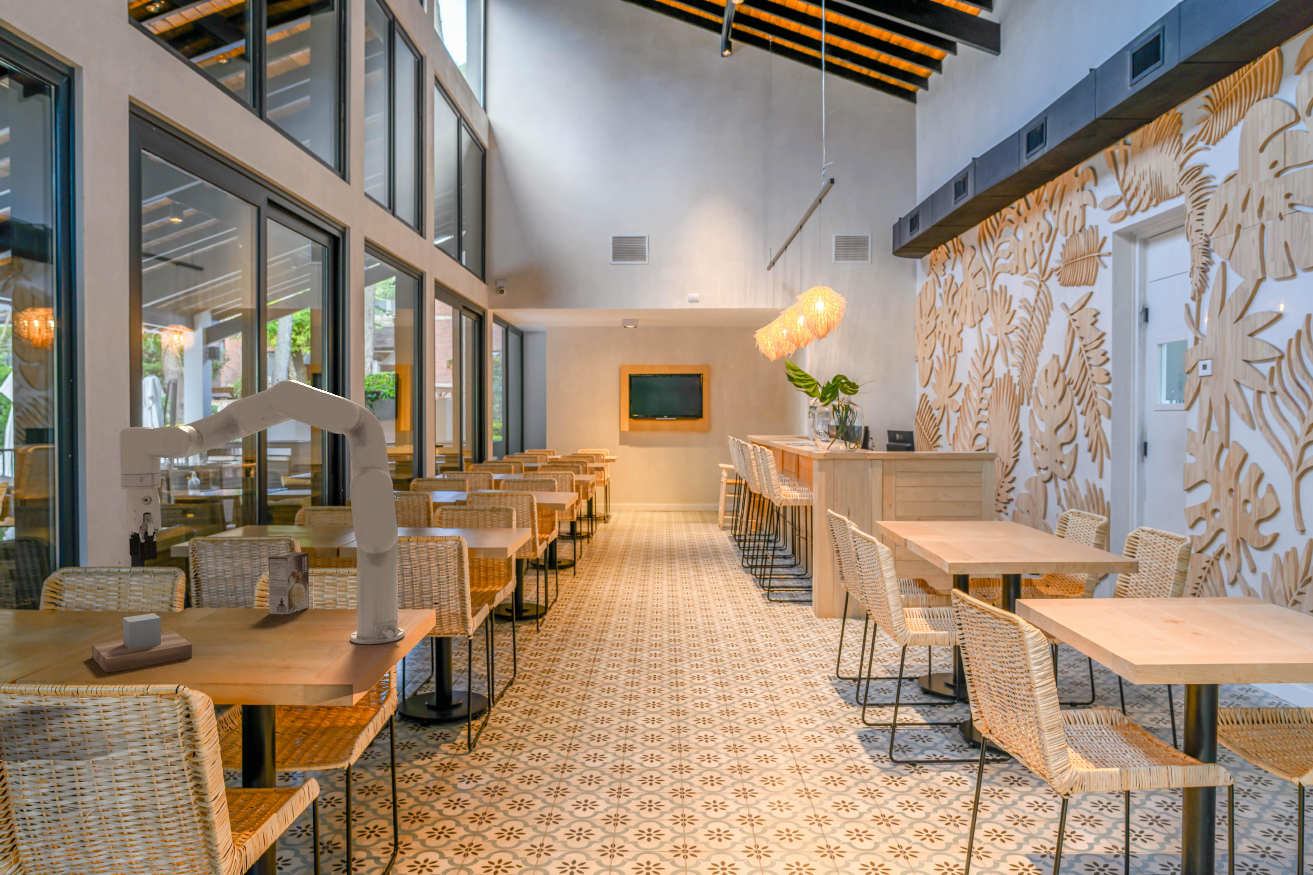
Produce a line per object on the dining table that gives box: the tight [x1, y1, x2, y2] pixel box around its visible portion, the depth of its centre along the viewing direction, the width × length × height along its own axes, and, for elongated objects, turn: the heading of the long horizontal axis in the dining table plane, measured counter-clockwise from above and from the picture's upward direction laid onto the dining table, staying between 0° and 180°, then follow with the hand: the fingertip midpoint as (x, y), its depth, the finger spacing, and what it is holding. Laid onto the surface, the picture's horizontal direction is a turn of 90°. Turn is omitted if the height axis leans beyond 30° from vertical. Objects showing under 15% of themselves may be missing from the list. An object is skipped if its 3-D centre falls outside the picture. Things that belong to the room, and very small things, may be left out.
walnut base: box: [91, 630, 193, 673], centre depth 175 cm, size 16×16×3 cm
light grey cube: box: [122, 612, 162, 649], centre depth 175 cm, size 6×6×6 cm
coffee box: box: [268, 551, 310, 615], centre depth 219 cm, size 9×6×16 cm
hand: (143, 557), depth 174 cm, fingers open, 9 cm apart
